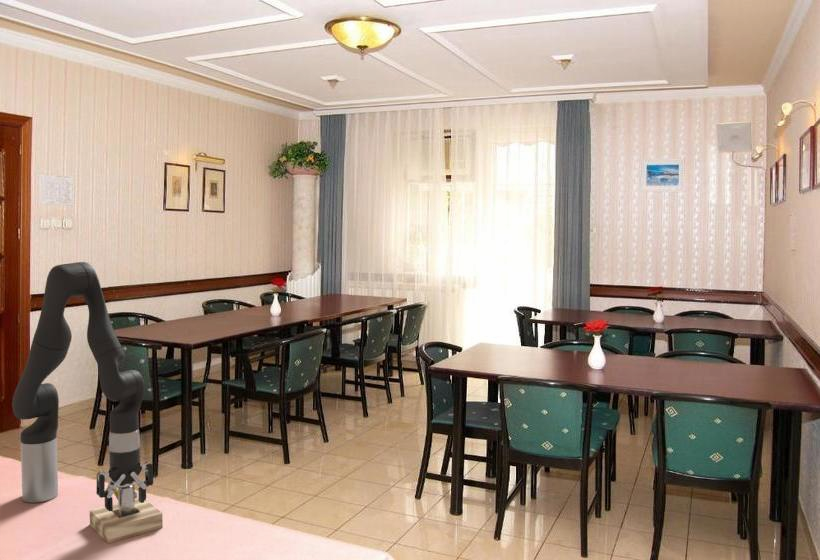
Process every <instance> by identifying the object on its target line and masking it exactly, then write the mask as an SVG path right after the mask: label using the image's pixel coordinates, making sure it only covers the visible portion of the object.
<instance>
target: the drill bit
mask: <svg viewBox="0 0 820 560" xmlns="http://www.w3.org/2000/svg"><path fill="white" fill-rule="evenodd" d="M113 495H114V496H115V498H116V499H117V500H118V489H117V490H116V491H115V492H114V493H113ZM134 495H135V498H138V492H136V490H134Z"/></svg>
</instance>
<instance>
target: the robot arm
mask: <svg viewBox="0 0 820 560" xmlns="http://www.w3.org/2000/svg"><path fill="white" fill-rule="evenodd" d="M45 281H46V282H45V286H44V294H43V301H42V305H41V311H40V314H39V319H38V323H37V326H36V329H35V332H34V335H33V339H32V341H31V345H30V350H29V353H28V357H27V360H26V363H25V367H24V369H23V372H22V374H21V377H20V379H19V382H18V384H17V386H16V388H15V390H14V394H13V396H12V402H11V406H12V412H13V414H14V416H15V417H16V418H17V419H18V420H32V419H35V418H36V420H35V421H33V423H32V424H30V425H29V426H27V427H25V428H23V430H22V431H20V460H21V461H20V463H21V488H22V489H21V490H22V492H21V493H22V494H21V495H22V501H23V502H26V503H30V504H31V503H32V504H34V503H42V502H47V501H50V500H53V499H54V498H56V497H57V496H58V495H59V478H58V477H59V475H58V474H59V473H58V446H57V445H58V440H57V439H58V438H57V437H58V436H57V432H58V429H59V409H60V408H59V407H60V406H59V405H60V404H59V402H60V401H59V393H58V391H57V390H58V389H57V388H56V386H55V385H54V384H52V383H49V382H47V383H43V382H44V381H45V380H46V379H47V378H48V377H49V376H50V375H51V374H52V373H53V372H55V370H57V368H58V367H59V366H60V365H61V364H62V363H63V362H64V360H65V359H66V358H67V354H68V351H69V349H70V345H71V343H72V338H73V336H72V334H73V333H72V331H71V328H70V326H69V324H68V322H67V320H66V318H65V309H66V306H67V303H68V301H69V300H70V299H74V298H81V297H82V298H83V300H84V301H85V303H86V305H87V308H88V309H87V310H88V321H87V322H88V323H87V331H86V332H87V333H86V341H87V343H88V347H89V349H90V351H91V353H92V356H93V358H94V360H95V362H96V365H97V371H98V376H99V384H100V388H101V392H102V394H103V395H104V396H105V398H106V399H107V400H109V401H112V402H119V403H118V404H117V406H115V407H114V408H113V409H112V410H111V411H110V413H109V436H108V448H109V450H108V451H109V457H108V458H109V469H108V471H107V472H104V473H103V472H97V473H96V495H97V496H99V498H100V499H102V498H104V506H105V508H106V509H107V510H108V511H109V512H110V511H113V504H114V503H113V502H114V500H113V497H112V496H113V495H114V492H115V491H116V490H118V487H119V486H123V485H126V484H134V482H135V483H136V485H138V486H139V487H138V491H137V495H138V498H139V502H140V503H144V500H147V489H148V487H149V486H152V485H154V469H153V464H152V463H151V462H149V461H145V462H144V463H142V464H141V437H140V436H141V435H140V430H139V427H140V426H139V425H140V424H139V423H140V422H139V412H140V409H141V407H142V406H141V405H142V401H143V397H144V394H145V393H144V392H145V380H144V377H143V375H142V374H141V372H139V371H138V370H135V369H130V370H125V371H122V372H121V371H119V365H120V364H121V363H123V362H124V360H125V359H126V354H125V352H124V349H123V348H122V347H123V346H122V345H121V342H120V341H119V338H118V336H117V334H116V332H115V329H114V327H113V325H112V322H111V319H110V316H109V315H110V314H109V312H108V308H107V304H106V299H105V297H104V294H103V290H102V286H101V283H100V280H99V277H98V275H97V272H96V270H95V269H94V267H93V266H92V265H91V264H90V263H89V262H84V261H79V262H78V261H77V262H71V263H62V264H57V265H54V266H53V267H52V268H51V269H50V270H49V272H48V275H47V278H46V280H45ZM142 470H143V472H144V478H145V479H144V481H143V480H142V479H141V478H140V476H139V475H140V473H141V472H142ZM108 478H110V480H109V482H108V484H107V487H106V488H105V484H106V483H105V482H106V481H108V480H107V479H108Z"/></svg>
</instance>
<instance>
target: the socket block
mask: <svg viewBox="0 0 820 560" xmlns="http://www.w3.org/2000/svg"><path fill="white" fill-rule="evenodd" d="M89 526H90V527H92V529H94V530H95V532H97V534H99V536H100V537H101V538H102V539H103V540H104V541H105V542H106V543H107V544H111V543H114V542H115V543H116V542H117V541H121V540H125V539H128V538H131V537H134V536H138V535H142V534H146V533H149V532H152V531H156V530H158V529H162V528H163V527H164V526H163V512H162V511H160V509H158V508H157V507H156V506H155V505H153V504H152V503H151V502H149V501H148V500H147V499H146V500H144V503H140V502H139V497H137V498H135V514H132V515H128V516H125V517H121V518H119V514H118V502H116V503H113V511H110V512H109V511H108V510H107V509H106V508H105V505H104V506H100V507H97V508H92V509H89Z"/></svg>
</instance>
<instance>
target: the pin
mask: <svg viewBox="0 0 820 560" xmlns="http://www.w3.org/2000/svg"><path fill="white" fill-rule="evenodd" d="M117 490H118V499H117V501H118V502H117V503H118V514H119V518H121V517H125V516H128V515H132V514H135V495H134V491H135V484H134V483H132V484H126V485H123V486H120V485H119V487H118V488H117Z"/></svg>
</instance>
